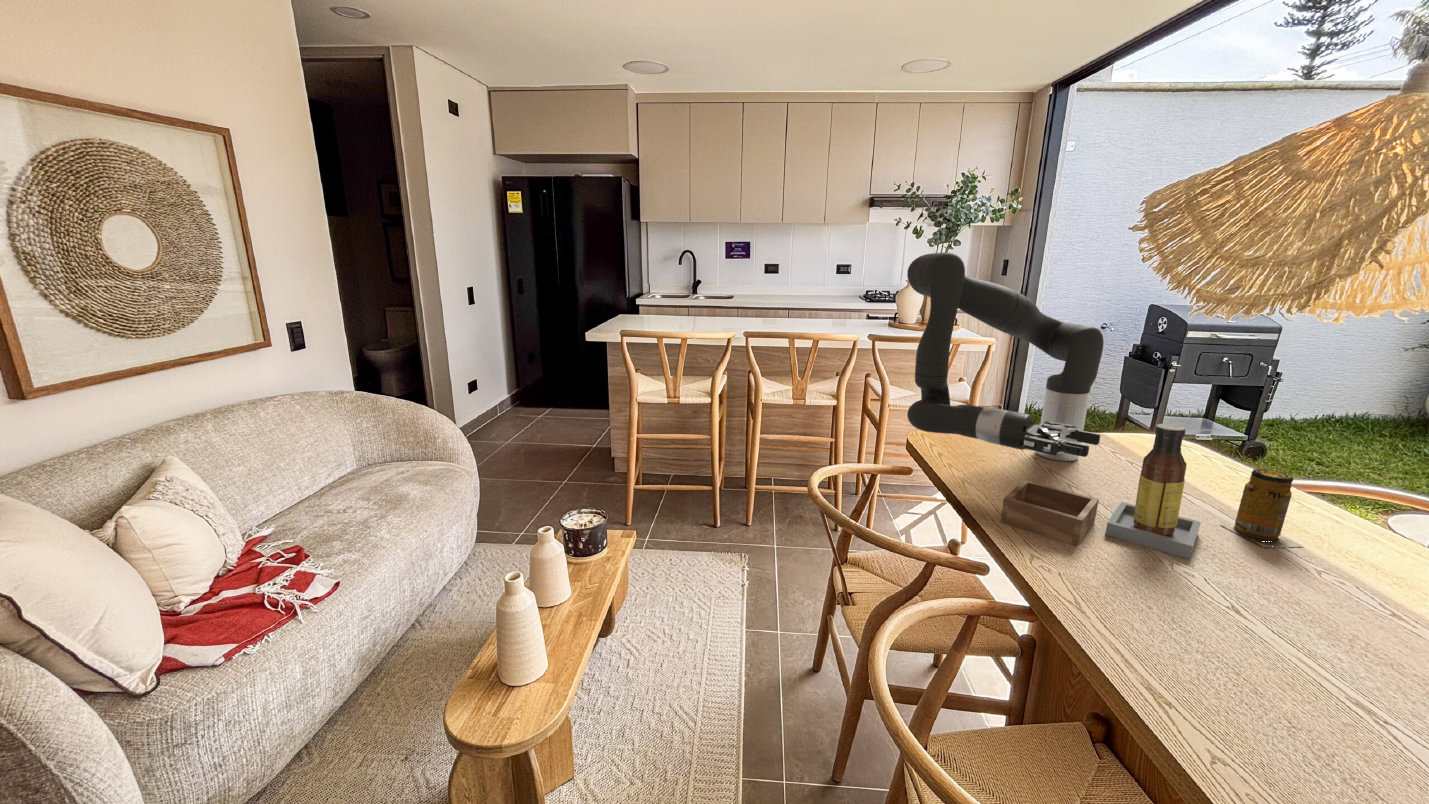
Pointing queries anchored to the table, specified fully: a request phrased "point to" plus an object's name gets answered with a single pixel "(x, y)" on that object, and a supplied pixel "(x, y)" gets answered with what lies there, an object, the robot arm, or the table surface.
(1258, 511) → the condiment
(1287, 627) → the table surface
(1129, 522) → the tray
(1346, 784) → the table surface
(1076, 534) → the holder
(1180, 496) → the sauce bottle
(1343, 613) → the table surface
